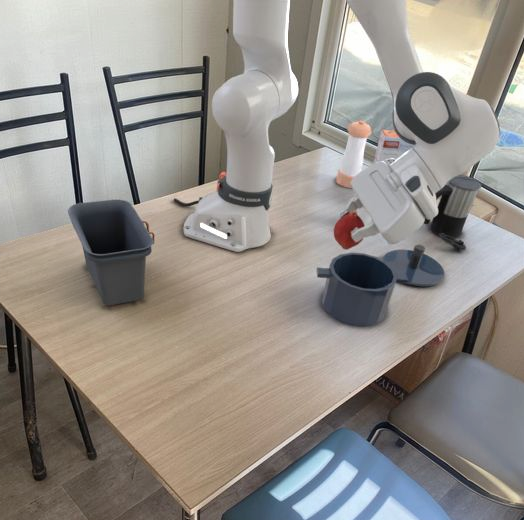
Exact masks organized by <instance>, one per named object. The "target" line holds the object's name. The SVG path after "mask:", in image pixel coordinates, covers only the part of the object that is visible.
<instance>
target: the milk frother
mask: <svg viewBox="0 0 524 520" xmlns="http://www.w3.org/2000/svg"><path fill="white" fill-rule="evenodd" d="M481 188H482V183H481V182H480V181H479V180H477V179H475V178H473V177H471V176H468V175H463V174H460V175H458V176H455V177H454V178H452V179H451V180H449V181H448V182H447V183H446V184H445V186H444V187H443V188H442V189H441V190H439V191H438V192H436V193H435V195H436V201H437V202H438V199H439V198H440V199H439V202H438V203H437V207H438V214H437V216H435V217H434V218H432V219H430V220H428V219H426V218H425V221H424V223H423V225H429V228H430V230H431V231H432V232H433V233H435V234H436V235H438V236H439V237H440V239H441V240H443V241H444V242H446V243H448V244H449V245H450V246H451V247H453V248H454V249H455V250H457V251H460V250H461V251H465V250H466V249H467V246H466V245H467V244H466V243H465V242H464V241H463V240H461V239H459V240H458V239H457V238H460V237H461V236H462V233H463V229H464V227H465V224H466V221H467V220H468V219H467V218H468V216H469V213H471V212H470V211H471V209H472V207H473V204H474V202H475V200H476V197H477V195H478V192H479V190H480V189H481Z"/></svg>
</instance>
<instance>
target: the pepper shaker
mask: <svg viewBox="0 0 524 520" xmlns="http://www.w3.org/2000/svg"><path fill="white" fill-rule="evenodd" d="M347 133H348V137H347V142H346V147H345V150H344V152H343V154H342V158H341V161H340V167H339V168H338V170H337V174H336V179H335V182H336V183H337V184H338V185H339V186H341V187H344V188H347V189H348V188H349V189H353V188H352V187H351V185H350V182H351V180H352V179H353V178H354V177H355V176H356V175H357V174H359V173H360V172H362V168H363V165H364V154H365V149H366V144H367V140H368V138H369V137H370V136H371V134H372V127H371V126H370V125H369V124H368V123H366V122H365V121H364V120H359V121H354V122H351V123H349V125H348V127H347Z"/></svg>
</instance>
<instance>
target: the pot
mask: <svg viewBox="0 0 524 520" xmlns="http://www.w3.org/2000/svg"><path fill="white" fill-rule="evenodd" d="M315 273H316V276H317V278H320V279H321V278H322V279H326V280H325V282H324V283H325V284H324V288H323V292H322V297H321V304H322V307H323V309H324V311H325V312H326V313H327V314H328V315H329V316H330V317H332V318H333V319H334V320H336V321H338V322H341V323H342V324H345V325H349V326H354V327H370V326H375V325H376V324H379V323H380V322H381V321H383V319H384V318H385V317H386V316H385V315H386V313H387V309H388V306H389V304H390V301H391V299H392V295H393V292H394V289H395V286H396V284H407V282H408V278H407V276H406V274H401V273H395V270H394V269H393V268H392V267H391V266H390V265H389V264H388V263H387V262H385V261H383V259H381V258H379V257H378V256H375V255H371V254H367V253H364V252H351V251H350V252H346V253H340V254H338V255H337V256H335V257H333V258H332V259H331V261H330V264H329V266H328V267H318V266H317V267H316V270H315ZM407 285H408V284H407Z"/></svg>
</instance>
